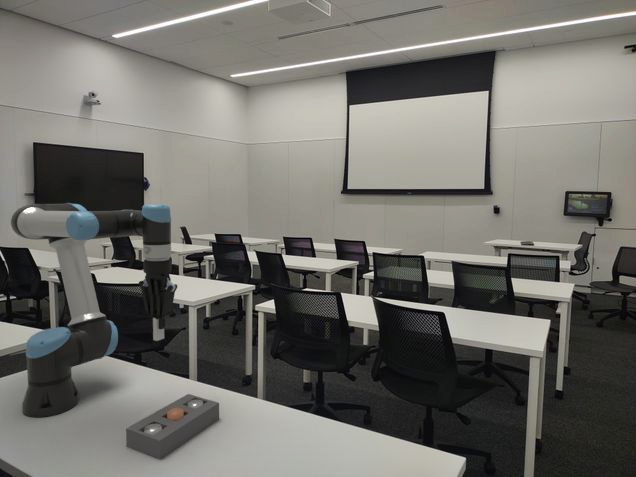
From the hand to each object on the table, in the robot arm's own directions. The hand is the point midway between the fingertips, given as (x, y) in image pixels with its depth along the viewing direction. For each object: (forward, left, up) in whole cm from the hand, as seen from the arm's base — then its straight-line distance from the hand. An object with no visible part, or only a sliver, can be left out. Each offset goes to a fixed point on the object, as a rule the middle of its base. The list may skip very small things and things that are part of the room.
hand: (158, 339), depth 129 cm
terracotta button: (+9, -3, -23) cm, 25 cm away
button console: (+9, -3, -24) cm, 26 cm away
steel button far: (+9, +5, -24) cm, 26 cm away
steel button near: (+9, -11, -24) cm, 28 cm away
